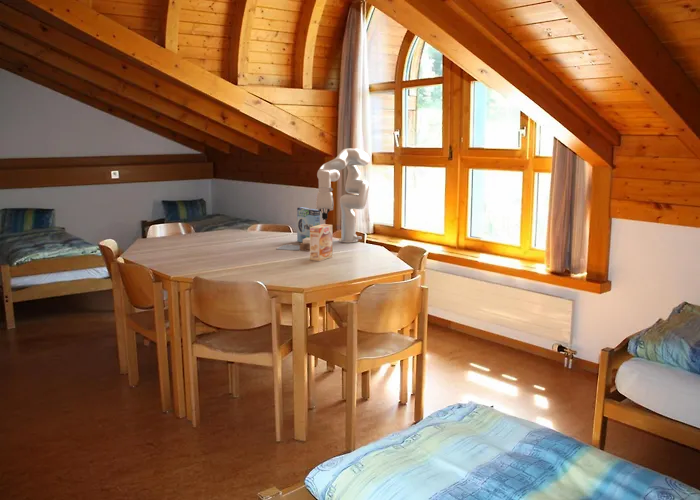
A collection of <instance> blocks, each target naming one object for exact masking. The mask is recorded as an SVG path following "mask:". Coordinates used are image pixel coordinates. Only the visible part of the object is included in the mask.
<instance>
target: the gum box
mask: <svg viewBox="0 0 700 500" xmlns="http://www.w3.org/2000/svg"><path fill="white" fill-rule="evenodd" d="M296 212H297V214H296V215H297V217H296V221H297V223H296V225H297V226H296V229H297V230H296V232H297V234H296V235H297V238H296V240H297V241H296V242H300V243H303V239H305V238H310V227H313V226H317V225H321V211H320V210H317V209H314V208H311V207H310V208H308V207H301V206H299V207H297V210H296Z"/></svg>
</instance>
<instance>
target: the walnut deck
mask: <svg viewBox="0 0 700 500" xmlns="http://www.w3.org/2000/svg"><path fill="white" fill-rule="evenodd" d="M299 245H300V250H299V251H304V252H305V251H307V252H310V244H308V243H303V242H300V243H299Z"/></svg>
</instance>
